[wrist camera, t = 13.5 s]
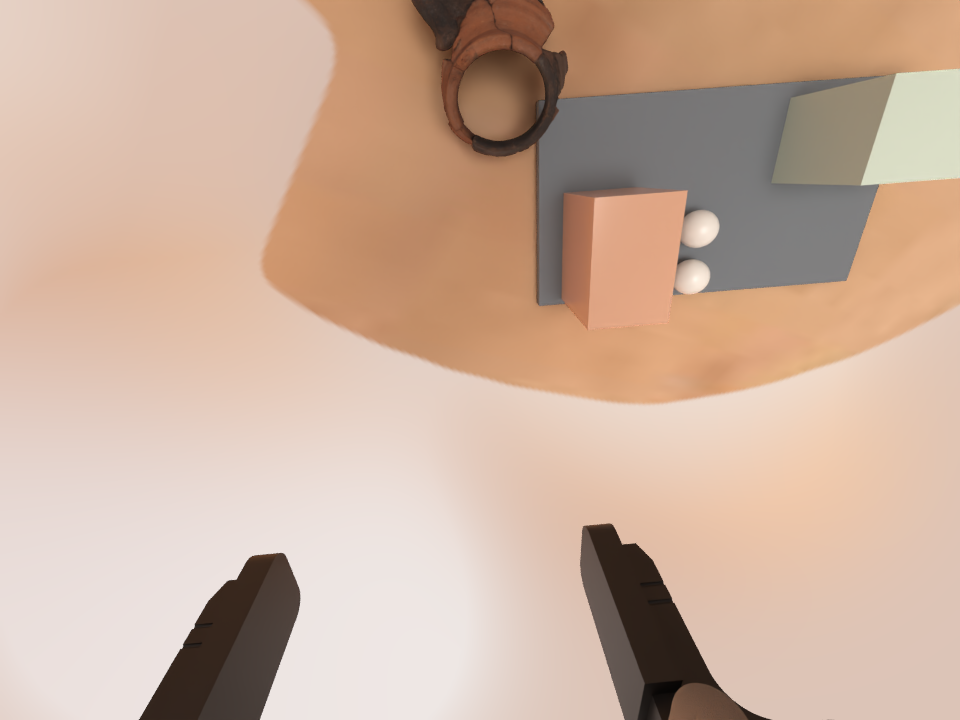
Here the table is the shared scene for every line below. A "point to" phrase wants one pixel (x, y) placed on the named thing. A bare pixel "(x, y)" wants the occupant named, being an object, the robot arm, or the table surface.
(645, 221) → the upright salmon pillar
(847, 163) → the pale green cuboid
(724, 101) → the slate mat
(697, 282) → the marble
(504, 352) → the table surface
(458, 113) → the brown sculpted ring
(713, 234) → the marble
